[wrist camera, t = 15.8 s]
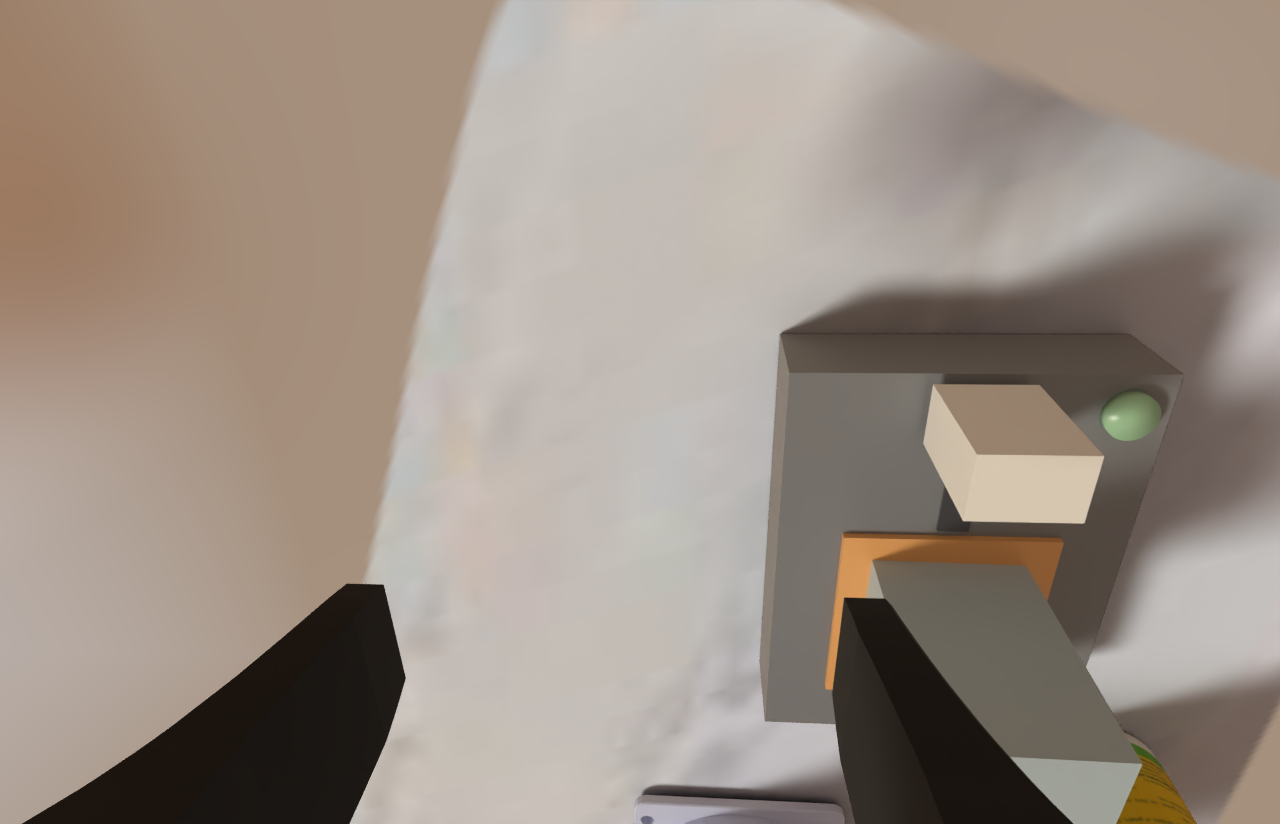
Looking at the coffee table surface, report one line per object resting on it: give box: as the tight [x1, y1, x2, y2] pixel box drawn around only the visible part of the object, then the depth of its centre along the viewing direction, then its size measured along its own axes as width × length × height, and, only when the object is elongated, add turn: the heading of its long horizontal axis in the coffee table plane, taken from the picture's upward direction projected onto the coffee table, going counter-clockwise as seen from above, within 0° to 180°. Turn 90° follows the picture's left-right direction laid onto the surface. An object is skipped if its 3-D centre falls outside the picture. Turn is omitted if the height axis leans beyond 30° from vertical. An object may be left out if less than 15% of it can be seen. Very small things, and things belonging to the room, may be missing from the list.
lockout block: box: [866, 560, 1142, 824], centre depth 18 cm, size 4×4×6 cm
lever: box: [923, 384, 1104, 524], centre depth 17 cm, size 2×2×3 cm
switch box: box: [760, 334, 1184, 724], centre depth 22 cm, size 12×9×3 cm
